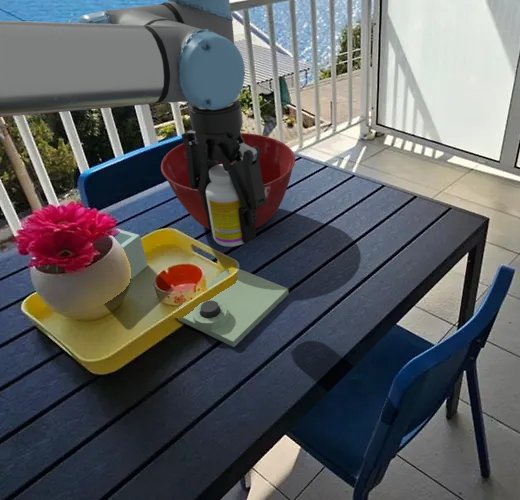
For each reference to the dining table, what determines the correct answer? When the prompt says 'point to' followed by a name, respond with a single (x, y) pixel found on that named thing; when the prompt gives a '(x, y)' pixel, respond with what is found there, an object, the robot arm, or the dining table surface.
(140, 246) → the right angle wall
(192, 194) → the mixing bowl
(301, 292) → the dining table surface
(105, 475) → the dining table surface
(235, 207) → the supplement bottle
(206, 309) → the button
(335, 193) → the dining table surface
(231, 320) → the scale
